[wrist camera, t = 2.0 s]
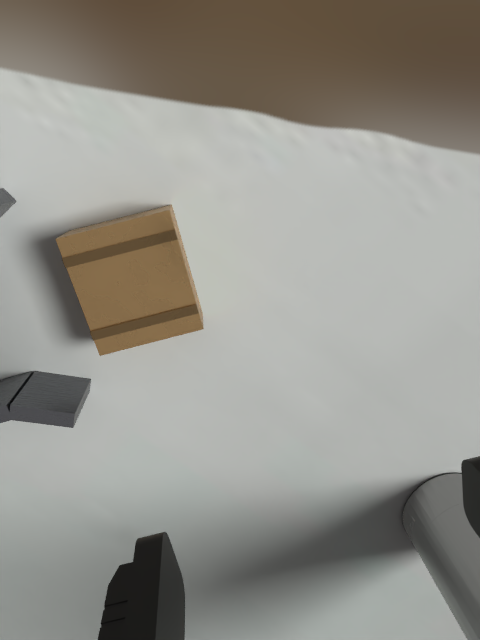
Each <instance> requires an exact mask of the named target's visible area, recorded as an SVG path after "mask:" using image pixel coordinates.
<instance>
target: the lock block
mask: <svg viewBox="0 0 480 640" xmlns="http://www.w3.org/2000/svg"><path fill="white" fill-rule="evenodd" d="M56 242H57V245H58V247H59V250H60V252H61V255H62V260H63V263H64V266H65V268H67V271H68V273H69V276H70V279H71V281H72V284H73V287H74V289H75V292H76V294H77V297H78V300H79V302H80V305H81V307H82V310H83V313H84V315H85V318H86V321H87V323H88V326H89V328H90V334H91V336H92V339H93V341H94V342H95V344H96V347H97V349H98V352H99V355H100V356H101V355H105V354H109V353H112V352H116V351H120V350H124V349H128V348H132V347H136V346H140V345H143V344H147V343H151V342H155V341H159V340H163V339H167V338H170V337H174V336H178V335H182V334H186V333H190V332H194V331H198V330H201V329H203V313H202V310H201V306H200V302H199V299H198V295H197V292H196V288H195V285H194V281H193V278H192V274H191V271H190V267H189V264H188V260H187V257H186V253H185V250H184V246H183V243H182V239H181V235H180V232H179V228H178V225H177V221H176V218H175V214H174V211H173V207H172V205H168V206H164V207H161V208H157V209H153V210H149V211H145V212H141V213H137V214H133V215H129V216H125V217H121V218H117V219H113V220H110V221H106V222H102V223H98V224H94V225H90V226H86V227H82V228H78V229H74V230H70V231H68V232H66V233H65V234H63V235H61V236H60V237H58V238H56Z"/></svg>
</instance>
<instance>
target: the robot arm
mask: <svg viewBox="0 0 480 640" xmlns="http://www.w3.org/2000/svg"><path fill="white" fill-rule="evenodd" d="M461 468H462V474H458V473H454V474H445V475H442V476H438V477H436V478H433V479H431V480H429V481H427V482H426V483H424V484H423V485H421V486H420V487H419V488H418V489H417V490H416V491H415V492H413V494H412V495H411V496H410V498H409V499H408V501H407V503H406V505H405V507H404V511H403V525H404V528H405V530H406V532H407V534H408V536H409V537H410V539H411V542H412V544H413V545H414V547H415V549H416V550H417V552H418V553H419V555H420V557H421V559H422V560H423V562H424V564H425V566H426V568H427V569H428V571H429V573H430V575H431V576H432V578H433V580H434V582H435V583H436V585H437V587H438V589H439V590H440V592H441V594H442V596H443V597H444V599H445V601H446V603H447V604H448V606H449V608H450V610H451V612H452V613H453V615H454V617H455V619H456V620H457V622H458V624H459V626H460V627H461V629H462V631H463V633H464V634H465V636H466V638H467V640H480V456H479V457H475V458H470V459H466V460H463V462H462V467H461ZM104 606H105V610H103V616H102V621H101V628H100V631H99V637H98V640H184V635H185V592H184V584H183V579H182V575H181V571H180V568H179V566H178V563H177V560H176V557H175V554H174V551H173V548H172V545H171V542H170V540H169V537H168V535H167V533H166V532H163V533H159V534H154V535H150V536H146V537H142V538H138V539H137V541H136V545H135V552H134V559H133V562H131V563H127V564H123V565H120V566H119V568H118V569H117V571H116V573H115V575H114V576H113V578H112V580H111V581H110V583H109V585H108V590H107V595H106V600H105V605H104Z"/></svg>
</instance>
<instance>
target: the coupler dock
mask: <svg viewBox="0 0 480 640" xmlns="http://www.w3.org/2000/svg"><path fill="white" fill-rule="evenodd" d="M15 202H16V200H15V199H14V198H13V197H12V196H11V195H10V194H9V193H8V192H7V191H6V190H5V189H4V188H2V189H0V217H1V216H2V215H3V214H4V213H5V212H6V211H7V210H8V209H9V208H10V207H11V206H12V205H13V204H14V203H15ZM90 383H91V379H86V378H79V377H73V376H66V375H59V374H52V373H45V372H38V371H35V372H34V374H33V372H28V373H24V374H21V375H17V376H14V377H10V378H6V379H3V380H0V423H2V422H6V421H9V420H16V421H24V422H32V423H39V424H47V425H55V426H63V427H71V428H73V427H74V425H75V423H76V420H77V418H78V416H79V414H80V412H81V409H82V407H83V405H84V403H85V400H86V398H87V396H88V394H89V391H90Z"/></svg>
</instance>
